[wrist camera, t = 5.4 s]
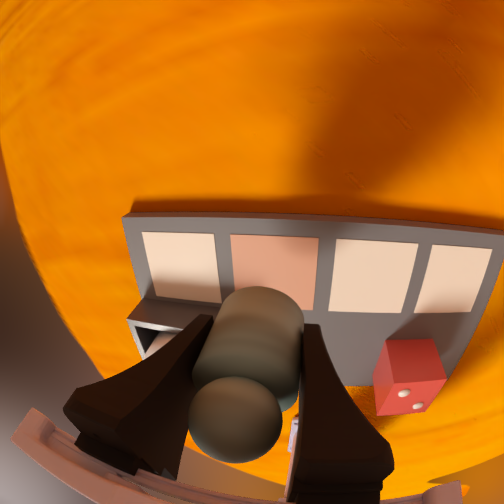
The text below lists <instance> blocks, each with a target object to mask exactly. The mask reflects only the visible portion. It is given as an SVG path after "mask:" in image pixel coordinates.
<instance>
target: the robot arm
mask: <svg viewBox="0 0 504 504" xmlns="http://www.w3.org/2000/svg"><path fill="white" fill-rule="evenodd" d="M213 324H214V320H213V315H206V314H199V315H198V316H197V317H196V318H195V319H194V320H193V321H191V322H190V323H189V324H188V325H187V326H186V327H185V328H184V329H183V330H181V331H180V332H179V333H178V334H177V335H176V336H175V337H173V338H172V339H171V340H170V341H169V342H167V343H166V344H165V345H164V346H162V347H161V348H160V349H158V350H157V351H156V352H155V353H153V354H152V355H150V356H149V357H147V358H146V359H144V360H143V361H141V362H139V363H138V364H136V365H134V366H132V367H131V368H129V369H127V370H125V371H123V372H121V373H119V374H117V375H114V376H112V377H110V378H107V379H105V380H103V381H99V382H97V383H94V384H91V385H87V386H84V387H80V388H76V390H75V391H74V392H73V394H72V395H71V397H70V398H69V400H68V401H67V403H66V404H65V405H64V407H63V411H64V414H65V415H66V416H67V418H68V419H69V420H70V421H71V422H72V423H73V424H74V426H76V428H77V429H78V430H79V431H80V432H81V433H80V435H79V436H78V438H77V439H76V438H74V437H72V436H71V435H69V434H67V433H66V432H64V431H62V430H61V429H59V428H57V427H56V426H55V425H54V423H53V422H52V421H51V420H50V419H48V418H47V417H46V416H45V415H43V414H42V413H40V412H39V411H37V410H36V409H34V408H31V409H30V411H29V412H28V414H27V415H26V416H25V418H24V419H23V421H22V422H21V424H20V425H19V427H18V428H17V430H16V431H15V432H14V434H13V435H12V437H11V441H12V442H13V443H14V444H15V445H16V446H17V447H19V448H20V449H21V450H22V451H23V452H24V453H25V454H27V455H28V456H29V457H30V458H31V459H33V460H34V461H35V462H36V463H38V464H39V465H40V466H41V467H43V468H44V469H45V470H47V471H48V472H49V473H51V474H52V475H53V476H55V477H56V478H58V479H59V480H60V481H62V482H63V483H65V484H66V485H68V486H69V487H71V488H72V489H74V490H75V491H77V492H79V493H80V494H82V495H83V496H85V497H87V498H88V499H90V500H92V501H94V502H95V503H97V504H173V503H170V502H167V501H164V500H160V499H158V498H155V497H153V496H151V495H150V494H148V493H146V492H145V491H143V490H142V489H141V488H140V487H139V486H137V485H135V484H133V483H131V482H134V483H136V484H139V485H141V486H143V487H146V488H149V489H151V490H154V491H157V492H159V493H162V494H165V495H168V496H171V497H174V498H178V499H181V500H184V501H188V502H191V503H195V504H463V503H462V492H461V483H460V480H457V481H453V482H450V483H446V484H442V485H438V486H435V487H432V488H430V489H428V490H426V491H425V492H424V493H422V494H417V495H412V496H407V497H401V498H395V499H388V500H380V491H381V490H382V488H383V480H384V479H385V478H386V477H387V476H389V475H390V474H391V473H392V472H393V470H394V458H393V454H392V450H391V447H390V444H389V442H388V441H387V440H386V439H384V438H383V437H382V436H381V435H380V433H379V432H378V431H377V430H376V429H375V428H374V427H373V426H372V425H371V424H370V422H369V421H368V420H367V419H366V418H365V416H364V415H363V414H362V412H361V411H360V410H359V408H358V407H357V406H356V404H355V403H354V401H353V400H352V398H351V397H350V395H349V394H348V392H347V390H346V389H345V387H344V385H343V383H342V382H341V380H340V378H339V376H338V374H337V372H336V370H335V368H334V365H333V363H332V361H331V358H330V356H329V354H328V351H327V348H326V345H325V342H324V339H323V336H322V332H321V326H320V325H319V324H309V323H304V331H303V342H302V360H301V372H300V382H299V417H294V418H293V420H292V426H291V433H290V439H289V445H288V451H289V452H291V458H290V465H289V471H288V477H287V483H286V489H285V494H284V498H279V500H278V502H276V501H268V500H260V499H252V498H246V497H240V496H233V495H228V494H224V493H219V492H214V491H210V490H205V489H202V488H198V487H194V486H190V485H187V484H183V483H180V482H176V479H177V474H178V470H179V464H180V459H181V455H182V451H183V447H184V443H185V439H186V435H187V432H188V410H189V407H190V404H191V402H192V400H193V398H194V396H195V395H196V394H197V392H198V390H197V389H196V387H195V385H194V383H193V380H192V370H193V368H194V366H195V363H196V361H197V359H198V357H199V355H200V352H201V350H202V348H203V346H204V344H205V341H206V339H207V337H208V335H209V333H210V330H211V328H212V326H213ZM123 478H124V479H123ZM125 479H127V480H129V481H131V482H129V481H127V480H125Z"/></svg>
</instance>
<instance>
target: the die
mask: <svg viewBox="0 0 504 504" xmlns="http://www.w3.org/2000/svg"><path fill="white" fill-rule="evenodd" d="M372 377H373V385H374V394H375V403H376V414H377V416H384V415H398V414H410V413H419V412H425V411H426V410H427V408H428V407H429V406H430V404H431V403H432V401H433V400H434V398H435V397H436V395H437V394H438V392H439V391H440V389H441V388H442V386H443V385H444V383H445V382H446V380H447V377H446V374H445V371H444V368H443V365H442V362H441V360H440V357H439V354H438V351H437V349H436V346H435V343H434V341H433V339H409V340H385V342H384V345H383V348H382V350H381V353H380V356H379V359H378V361H377V364H376V367H375V369H374V372H373V374H372Z"/></svg>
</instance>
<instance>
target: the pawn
mask: <svg viewBox="0 0 504 504" xmlns="http://www.w3.org/2000/svg"><path fill="white" fill-rule="evenodd" d="M303 331H304V316H303V313H302V310H301V309H300V307H299V306H298V304H297V303H296V302H295V301H294V300H293V299H292V298H291V297H289V296H288V295H286V294H285V293H283V292H281V291H279V290H276V289H273V288H269V287H262V286H251V287H245V288H242V289H239V290H237V291H235V292H233V293H232V294H230V295H229V296H228V297H227V298H226V299H225V301H224V302H223V304H222V306H221V308H220V311H219V313H218V315H217V317H216V319H215V322H214V324H213V326H212V328H211V330H210V333H209V335H208V337H207V339H206V341H205V344H204V346H203V348H202V350H201V352H200V355H199V357H198V359H197V361H196V363H195V366H194V368H193V370H192V380H193V383H194V385H195V387H196V389H197V390H198V392H197V394H196V395H195V396H194V398H193V400H192V402H191V404H190V407H189V410H188V428H189V431H190V434H191V437H192V438H193V440H194V442H195V443H196V445H197V446H198V447H199V448H200V449H201V450H202V451H203V452H204V453H206V454H207V455H209V456H210V457H212V458H214V459H216V460H219V461H222V462H227V463H245V462H249V461H253V460H255V459H258V458H259V457H261V456H263V455H264V454H266V453H267V452H268V451H269V450H270V449H271V448H272V447H273V446H274V445H275V443H276V441H277V440H278V438H279V436H280V433H281V429H282V423H283V420H282V412H283V411H286V410H287V409H289V408H290V407H291V406H293V404H294V403H295V402H296V400H297V397H298V391H299V382H300V372H301V360H302V342H303Z"/></svg>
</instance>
